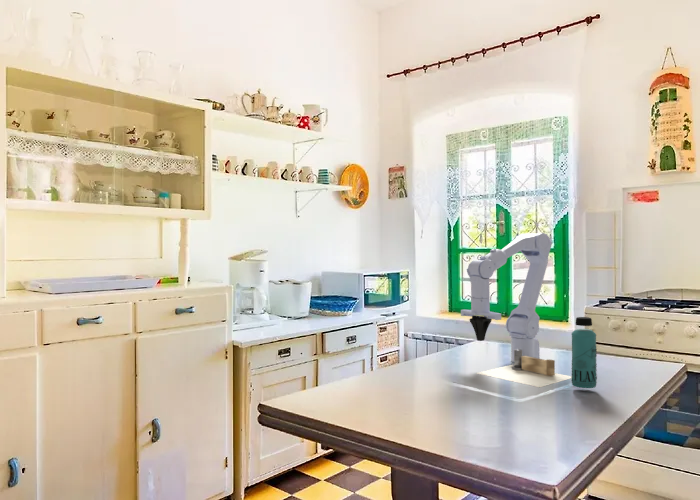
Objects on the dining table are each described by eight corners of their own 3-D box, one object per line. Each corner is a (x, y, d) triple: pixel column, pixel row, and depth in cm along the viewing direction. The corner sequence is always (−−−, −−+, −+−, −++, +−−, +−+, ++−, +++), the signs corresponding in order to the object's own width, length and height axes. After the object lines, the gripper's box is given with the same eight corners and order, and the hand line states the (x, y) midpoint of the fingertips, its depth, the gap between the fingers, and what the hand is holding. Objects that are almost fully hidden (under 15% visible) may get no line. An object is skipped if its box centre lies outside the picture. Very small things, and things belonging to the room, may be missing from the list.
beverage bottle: (569, 392, 148) (569, 318, 147) (572, 386, 154) (572, 315, 153) (596, 395, 145) (595, 319, 144) (598, 389, 150) (597, 316, 150)
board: (511, 367, 179) (511, 364, 178) (575, 379, 161) (575, 377, 161) (475, 375, 167) (475, 373, 167) (540, 390, 150) (540, 387, 150)
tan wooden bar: (521, 369, 170) (521, 355, 170) (525, 368, 171) (524, 354, 171) (551, 375, 161) (551, 360, 161) (554, 375, 162) (554, 360, 162)
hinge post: (516, 369, 175) (516, 348, 175) (527, 371, 172) (527, 350, 172) (509, 371, 173) (508, 349, 173) (519, 373, 170) (519, 351, 170)
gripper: (454, 297, 178) (454, 338, 178) (491, 300, 167) (491, 344, 167) (468, 295, 183) (469, 336, 183) (505, 298, 171) (505, 342, 171)
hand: (480, 340), depth 175 cm, fingers closed
